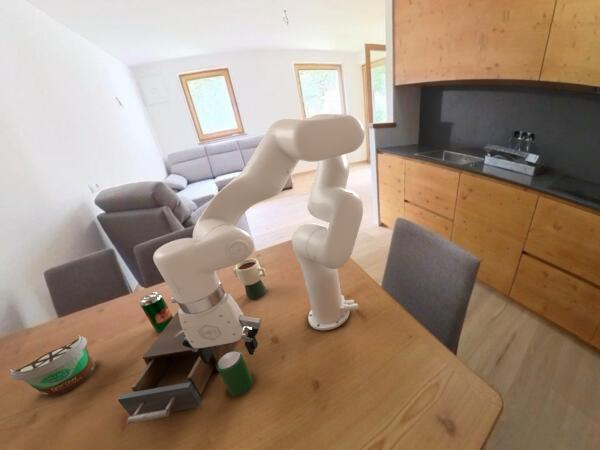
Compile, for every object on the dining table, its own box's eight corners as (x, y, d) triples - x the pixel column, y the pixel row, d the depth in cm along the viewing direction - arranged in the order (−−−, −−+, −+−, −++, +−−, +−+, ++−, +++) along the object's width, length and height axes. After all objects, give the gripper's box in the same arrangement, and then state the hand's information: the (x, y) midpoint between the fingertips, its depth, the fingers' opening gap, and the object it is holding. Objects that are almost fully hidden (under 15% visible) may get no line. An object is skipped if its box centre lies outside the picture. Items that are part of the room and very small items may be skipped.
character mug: (276, 287, 101) (267, 257, 95) (267, 301, 94) (257, 269, 89) (247, 288, 101) (236, 258, 95) (236, 301, 95) (224, 270, 89)
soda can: (165, 334, 83) (147, 303, 78) (151, 332, 84) (133, 302, 79) (180, 322, 87) (164, 292, 82) (167, 320, 88) (150, 290, 83)
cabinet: (221, 370, 71) (209, 346, 67) (158, 381, 69) (142, 357, 65) (242, 324, 85) (233, 302, 81) (189, 332, 83) (178, 310, 79)
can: (255, 373, 70) (244, 348, 66) (249, 393, 65) (237, 367, 61) (233, 377, 69) (221, 352, 65) (225, 398, 65) (211, 372, 61)
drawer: (191, 425, 59) (178, 405, 56) (119, 439, 57) (102, 419, 54) (225, 352, 75) (216, 333, 72) (170, 361, 73) (159, 342, 70)
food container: (39, 412, 64) (10, 384, 59) (33, 398, 67) (5, 371, 62) (109, 369, 73) (89, 343, 68) (102, 359, 76) (82, 333, 71)
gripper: (143, 318, 51) (182, 376, 59) (241, 302, 53) (266, 360, 61) (166, 291, 58) (199, 347, 66) (252, 278, 60) (274, 333, 68)
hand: (231, 353), depth 64 cm, fingers open, 9 cm apart
